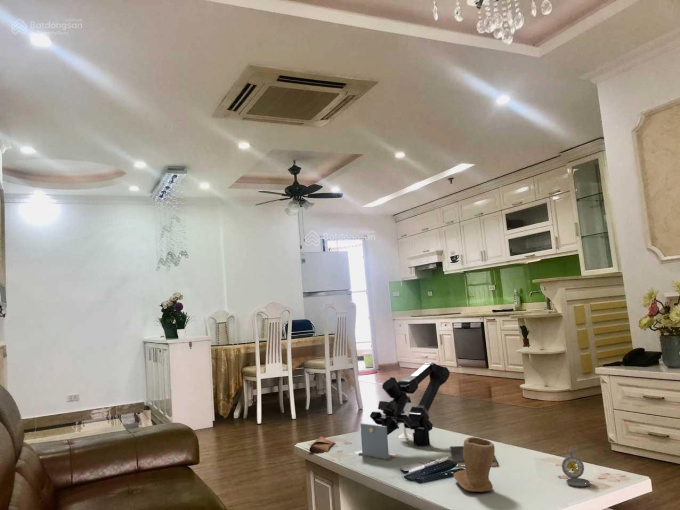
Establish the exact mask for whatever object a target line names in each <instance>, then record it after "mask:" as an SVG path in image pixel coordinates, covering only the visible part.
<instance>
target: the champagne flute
mask: <svg viewBox="0 0 680 510" xmlns="http://www.w3.org/2000/svg"><path fill="white" fill-rule="evenodd" d="M406 395H407V396H410V395H409V394H408V393H406ZM411 408H412V407H411V403H406V405H405V407H404V409H403V410H404V414H403V415H407V414H408V413H409V412H410V410H411ZM404 424H405V423H402V425H403V433H402V434H400V435H399V436H398V438H399V439H411V438H412V439H413V435H411V434H409V433H408V432H407V428H405V427H404Z"/></svg>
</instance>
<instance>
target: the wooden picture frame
mask: <svg viewBox="0 0 680 510" xmlns="http://www.w3.org/2000/svg"><path fill="white" fill-rule="evenodd" d="M388 453H389V458H387V459H383V458H378V457H373V456H367V455H362V452H359V453H358V456H360V457H361V456H364V457H368V458H374V459H379V460H384V461H386V462H391V461H392V459H396V458H399V457H401V456H403V454H398V453H392V452H388Z"/></svg>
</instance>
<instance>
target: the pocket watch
mask: <svg viewBox="0 0 680 510" xmlns="http://www.w3.org/2000/svg"><path fill="white" fill-rule="evenodd" d="M569 450H570V451H569ZM575 452H576V449H575V448H572V447H571V448H570V447H568V448H567V449H566V453H568V454H569V456H566V457H565V458H564V459H563V461H562V462H561V470H562V472H563V474H564V475H565V476H566V477H568V478H567V479H566V484H568V485H570V486H572V487H579V488H582V487H588V486H590V484H591V481H590V480H588V479H585V478H580V477H581V476H582V475H583V473H584V471H585V465H584V463H583V461H582V460H581V459H580V458H579V457H578V456H574V454H575ZM585 483H586V484H585Z"/></svg>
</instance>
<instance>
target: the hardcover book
mask: <svg viewBox="0 0 680 510" xmlns="http://www.w3.org/2000/svg"><path fill="white" fill-rule="evenodd" d="M463 447H464V445H463V446H462V445H461V446H456V445H455V446H450V453H451V454H450V455H451V461H452V462H453V461H454V462H457V464H458V466H457V467H462V466H461V465H465V462H464V457H463ZM493 466H494V467H499V461H498V459H497V457H496V455H495V454H494V459H493V462H492V465H491V467H493Z"/></svg>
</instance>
